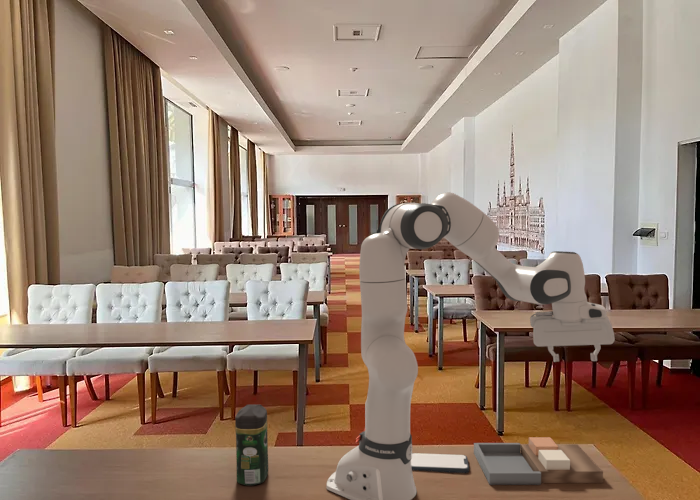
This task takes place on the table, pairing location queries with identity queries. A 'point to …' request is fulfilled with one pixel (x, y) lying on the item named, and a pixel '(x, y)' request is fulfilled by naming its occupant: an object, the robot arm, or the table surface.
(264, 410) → the coffee jar
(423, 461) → the phone case
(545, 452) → the cream tile
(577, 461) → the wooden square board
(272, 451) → the table surface
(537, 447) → the terracotta tile
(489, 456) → the box
